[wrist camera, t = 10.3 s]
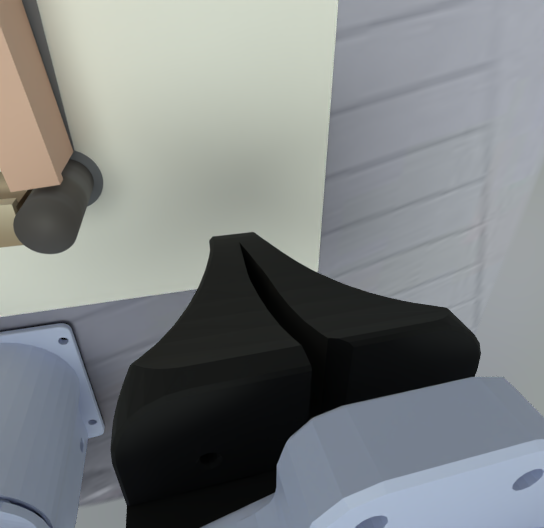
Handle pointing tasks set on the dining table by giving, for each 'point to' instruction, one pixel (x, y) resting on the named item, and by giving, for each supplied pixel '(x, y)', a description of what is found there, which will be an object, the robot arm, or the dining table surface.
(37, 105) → the tan wooden bar
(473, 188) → the dining table surface
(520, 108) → the dining table surface
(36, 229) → the hammer
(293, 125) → the card
